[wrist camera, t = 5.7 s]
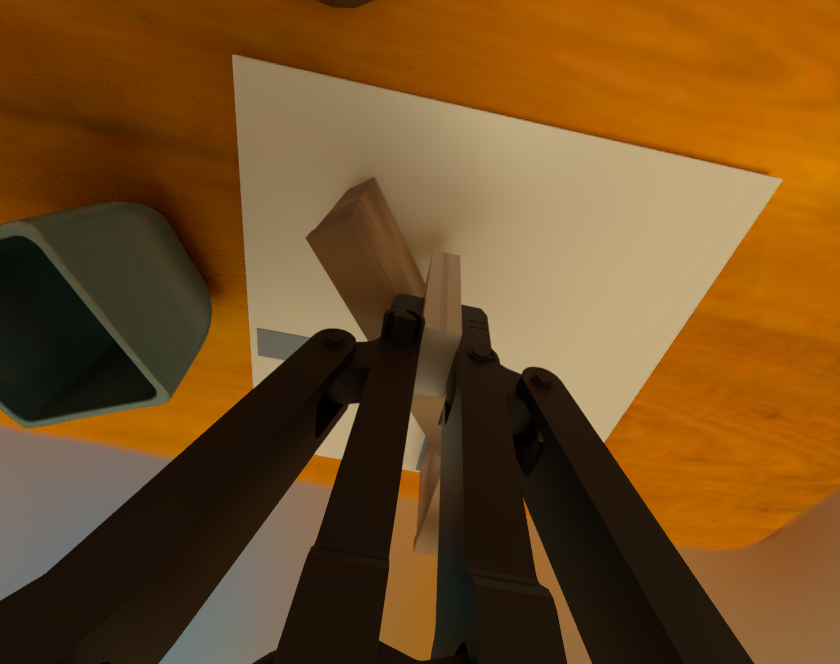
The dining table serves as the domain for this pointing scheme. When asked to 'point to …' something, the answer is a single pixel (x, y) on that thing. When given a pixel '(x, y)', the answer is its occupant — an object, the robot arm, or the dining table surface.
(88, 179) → the dining table surface
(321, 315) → the card
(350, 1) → the cork
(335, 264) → the fence panel
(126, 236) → the flower pot
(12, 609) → the robot arm
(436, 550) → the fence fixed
